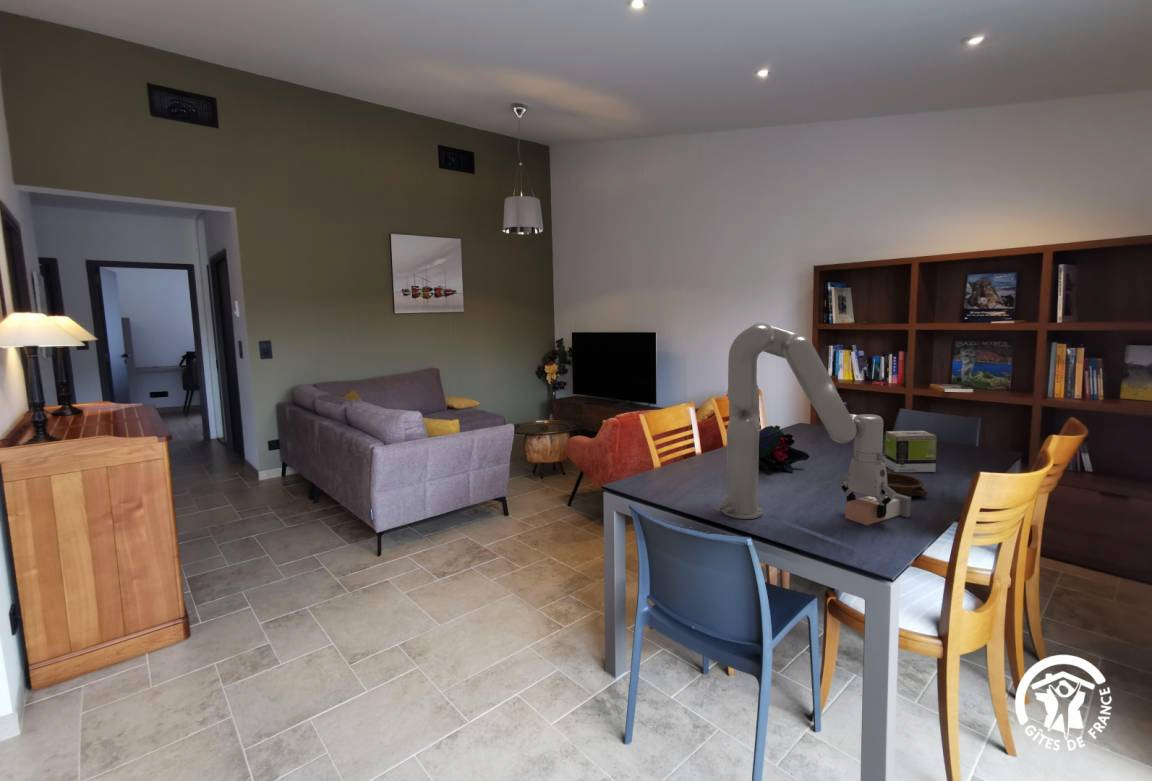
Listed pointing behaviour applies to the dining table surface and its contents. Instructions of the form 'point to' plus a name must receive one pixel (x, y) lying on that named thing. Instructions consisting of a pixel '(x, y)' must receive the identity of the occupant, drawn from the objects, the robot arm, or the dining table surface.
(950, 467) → the dining table surface
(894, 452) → the tea box
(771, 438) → the decorative plant
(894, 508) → the white block
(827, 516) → the dining table surface
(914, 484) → the dish
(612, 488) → the dining table surface
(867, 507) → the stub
